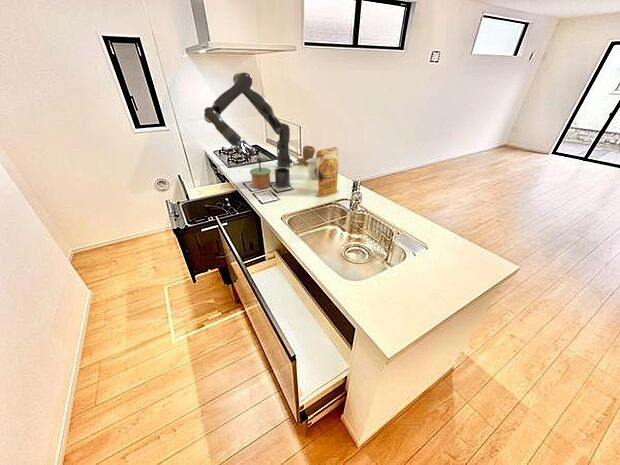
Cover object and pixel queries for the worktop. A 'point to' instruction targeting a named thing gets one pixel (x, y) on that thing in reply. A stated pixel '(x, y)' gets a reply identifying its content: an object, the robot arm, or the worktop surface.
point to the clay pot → (261, 181)
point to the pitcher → (312, 168)
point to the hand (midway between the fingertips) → (251, 155)
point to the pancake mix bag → (327, 171)
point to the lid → (260, 169)
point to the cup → (282, 177)
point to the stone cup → (306, 155)
